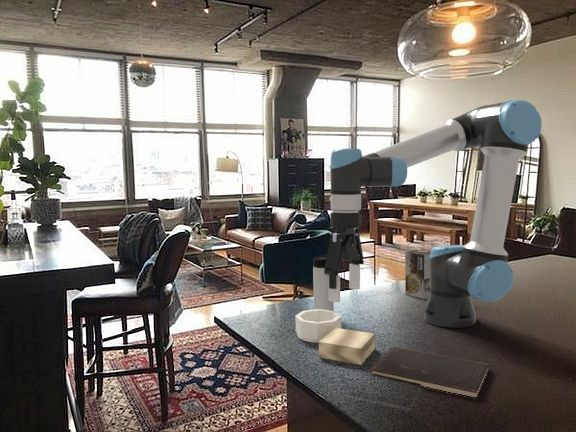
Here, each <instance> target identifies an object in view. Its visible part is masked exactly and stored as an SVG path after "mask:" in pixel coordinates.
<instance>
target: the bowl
mask: <svg viewBox="0 0 576 432" xmlns="http://www.w3.org/2000/svg"><path fill="white" fill-rule="evenodd" d="M294 317H295V319H294V320H295V332H296V333H297V334H296V335H297V338H298V339H300V340H301V341H303V342H304V341H305V342H307V343H308V342H309V343H316V344H317V343H318V344H319V341H320V340H321V339H323V338H324V337H325V336H326V335H327V334H328V333H330V332H331V331H332V330H333V329H334V328H340V329H342V315H341V314H339V313H338V312H337V311H335V310H334V311H331V310H323V309H314V308H313V309H309V310H302V311H300V312H299V313H297V314H296V315H294Z"/></svg>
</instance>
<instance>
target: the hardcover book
mask: <svg viewBox="0 0 576 432" xmlns="http://www.w3.org/2000/svg"><path fill="white" fill-rule="evenodd" d="M488 369H489V370H490V363H486V362H481V361H477V360H469V359H464V358H458V357H453V356H447V355H444V354H443V355H442V354H437V353H433V352H432V353H431V352H427V351H420V350H415V349H410V348H404V347H400V346H399V347H397V346H394V345H393V346H392V347H391V348H389V350H388V351H387V352H386V353H385V354H384V355H383V356H382V357H381V358H380V359H379V360H378V361H377V362H376V363H375V364H374V365H373V366H372V367H371V368H370V371H371V374H373V375H376V376H377V375H378V376H382V377H387V378H392V379H396V380H400V381H401V380H402V381H406V382H410V383H414V384H415V383H416V384H418V385H419V384H420V385H419V387H421V386H424V387H423V388H425V387H430V388H434V389H439V390H443V391H447V392H446V393H448V392H451V393H450V394H452V393H457V394H462V395H467V396H471V397H477V398H478V395H479V393H480V391H481V388H482V386H481V385H483V384H484V381H485V379H484V378H486V377H487V374H488V372H489V370H488ZM487 371H488V372H487ZM486 373H487V374H486ZM485 376H486V377H485ZM483 380H484V381H483ZM482 383H483V384H482ZM480 387H481V388H480ZM430 388H429V389H430ZM434 389H433V390H434ZM439 390H438V391H439ZM479 390H480V391H479ZM443 391H442V392H443ZM478 392H479V393H478ZM457 394H456V395H457ZM477 394H478V395H477Z"/></svg>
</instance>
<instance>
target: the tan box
mask: <svg viewBox="0 0 576 432" xmlns="http://www.w3.org/2000/svg"><path fill="white" fill-rule="evenodd" d="M375 349H376V334H375V333H373V332H367V331H359V330H352V329H346V328H345V329H344V328H341V329H340V328H334V329H333V330H332V331H331V332H330V333H328V334H327V335H326V336H325V337H324V338H323V339H321V340H320V341H319V343H318V357H319V358H320V357H321V359H326V358H327V359H326V360H331V359H332V361H337V360H338V362H342V361H343V362H344V363H348V362H349V364H353V363H355V364H356V365H359V364H360V366H361V364H363V363H364V362H365V361H366V358H369V356H371V354H372V353H373V352H374V350H375ZM372 351H373V352H372ZM355 364H354V365H355Z"/></svg>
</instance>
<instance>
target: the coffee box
mask: <svg viewBox="0 0 576 432" xmlns="http://www.w3.org/2000/svg"><path fill="white" fill-rule="evenodd" d="M404 253H405V254H404V260H405V261H404V263H405V264H404V272H405V275H404V276H405V280H404V281H405V282H404V284H405V295H407V296H411V297H415V298H419V299H422V300H426V299H427V300H428V298H429V295H430V253H431V251H428V250H420V249H412V250H409V251H405V252H404Z"/></svg>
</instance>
